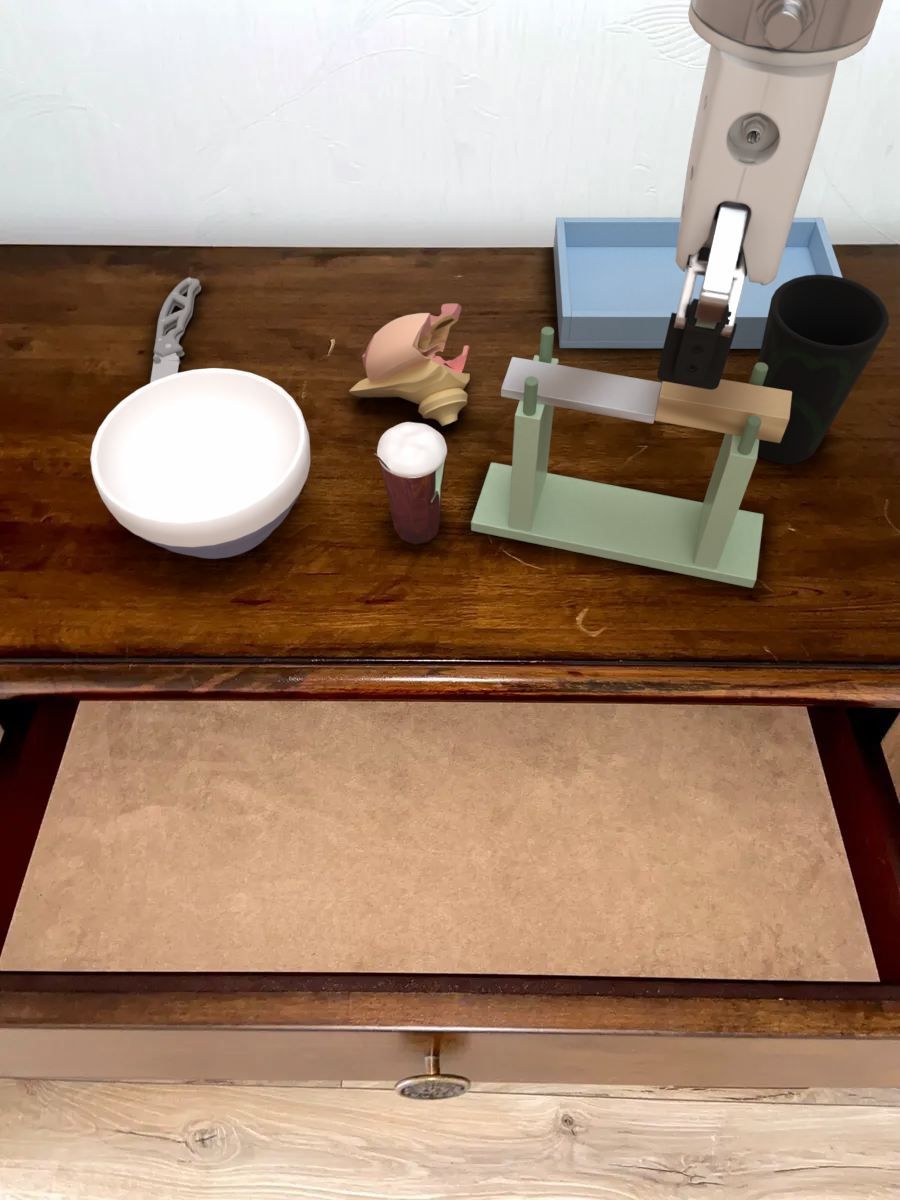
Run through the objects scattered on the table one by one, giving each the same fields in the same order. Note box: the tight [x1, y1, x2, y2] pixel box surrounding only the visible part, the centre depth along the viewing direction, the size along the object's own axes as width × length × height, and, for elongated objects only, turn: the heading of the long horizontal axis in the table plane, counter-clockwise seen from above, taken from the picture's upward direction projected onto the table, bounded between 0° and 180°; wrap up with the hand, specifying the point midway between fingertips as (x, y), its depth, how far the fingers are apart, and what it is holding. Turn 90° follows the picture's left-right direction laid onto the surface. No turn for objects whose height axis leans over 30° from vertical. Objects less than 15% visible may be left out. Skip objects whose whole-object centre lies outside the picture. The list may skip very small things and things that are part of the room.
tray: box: [552, 216, 844, 350], centre depth 81 cm, size 23×13×3 cm, turn 89°
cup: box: [757, 274, 890, 465], centre depth 68 cm, size 8×8×12 cm
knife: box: [149, 276, 202, 384], centre depth 79 cm, size 2×18×3 cm
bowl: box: [89, 367, 312, 560], centre depth 66 cm, size 14×14×8 cm
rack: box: [470, 326, 768, 589], centre depth 62 cm, size 20×6×14 cm, turn 75°
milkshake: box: [373, 421, 448, 545], centre depth 64 cm, size 4×5×10 cm
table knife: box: [500, 356, 792, 443], centre depth 57 cm, size 17×3×2 cm, turn 75°
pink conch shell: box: [348, 303, 471, 427], centre depth 73 cm, size 9×10×10 cm
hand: (698, 322), depth 52 cm, fingers open, 9 cm apart
